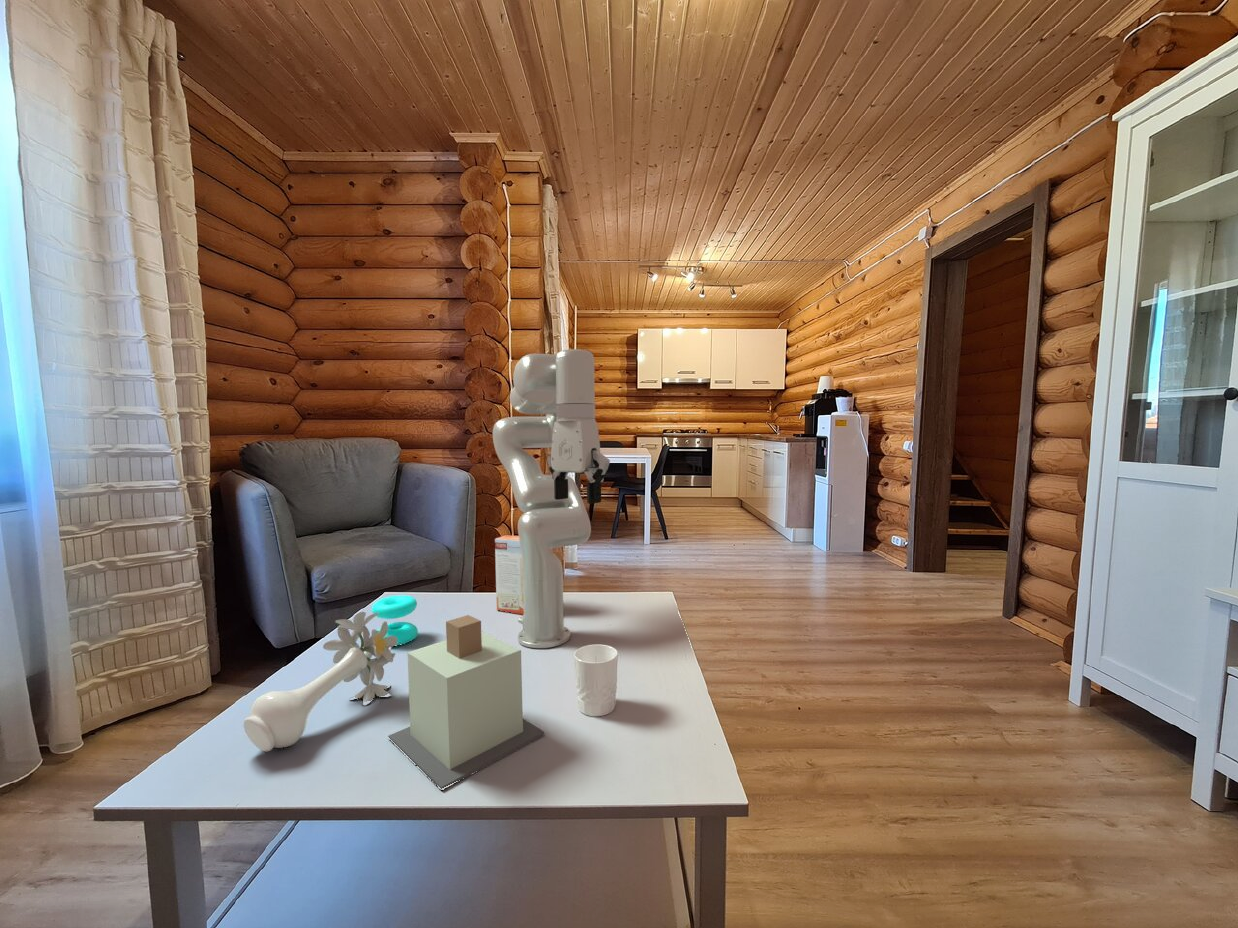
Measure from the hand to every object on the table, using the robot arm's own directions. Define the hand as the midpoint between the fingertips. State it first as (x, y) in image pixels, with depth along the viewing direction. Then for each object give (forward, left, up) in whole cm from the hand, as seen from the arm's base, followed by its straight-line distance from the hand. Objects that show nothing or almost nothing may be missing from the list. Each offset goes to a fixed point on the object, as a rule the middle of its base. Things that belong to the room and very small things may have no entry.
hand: (577, 500), depth 101 cm
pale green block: (+1, -26, -36) cm, 44 cm away
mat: (+1, -26, -36) cm, 45 cm away
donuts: (-48, -17, -37) cm, 63 cm away
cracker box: (-42, +16, -36) cm, 58 cm away
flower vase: (-22, -39, -36) cm, 58 cm away
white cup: (+10, -5, -36) cm, 38 cm away
